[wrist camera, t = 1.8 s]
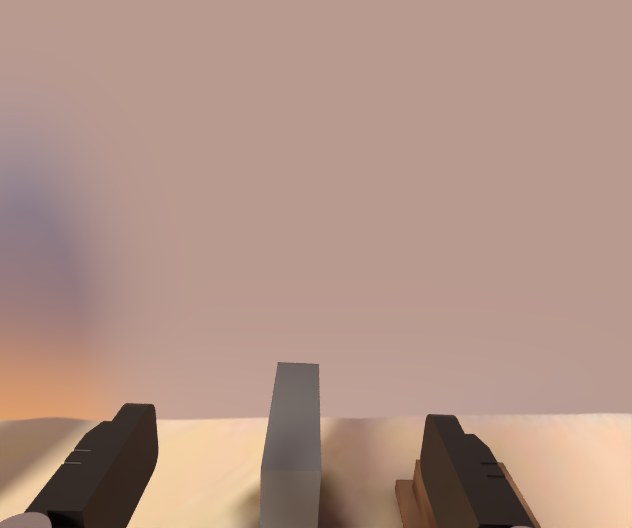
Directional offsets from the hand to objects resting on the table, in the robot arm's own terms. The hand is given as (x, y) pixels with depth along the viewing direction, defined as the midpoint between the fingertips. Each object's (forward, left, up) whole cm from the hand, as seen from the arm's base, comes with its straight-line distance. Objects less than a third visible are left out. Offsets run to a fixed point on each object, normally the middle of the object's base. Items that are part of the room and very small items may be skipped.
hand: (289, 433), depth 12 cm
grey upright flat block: (-8, +8, -21) cm, 24 cm away
